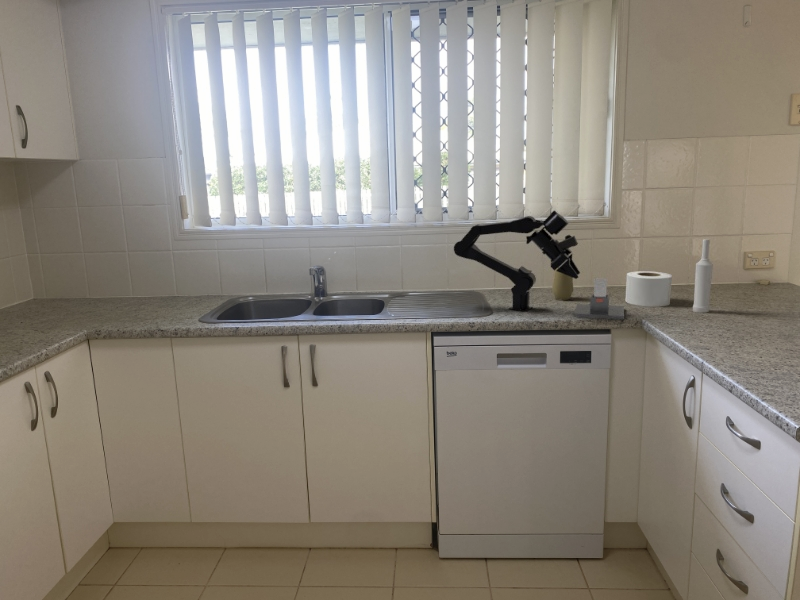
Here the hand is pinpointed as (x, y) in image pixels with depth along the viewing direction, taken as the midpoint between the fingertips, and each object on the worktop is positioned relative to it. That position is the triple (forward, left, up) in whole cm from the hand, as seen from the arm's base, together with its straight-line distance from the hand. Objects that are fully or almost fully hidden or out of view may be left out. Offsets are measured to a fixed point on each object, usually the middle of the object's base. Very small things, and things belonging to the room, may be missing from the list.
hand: (578, 275), depth 203 cm
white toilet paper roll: (+30, -13, -13) cm, 35 cm away
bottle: (+26, -33, -13) cm, 44 cm away
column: (+3, -7, -12) cm, 14 cm away
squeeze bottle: (+17, +15, -13) cm, 26 cm away
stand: (+3, -7, -13) cm, 15 cm away
